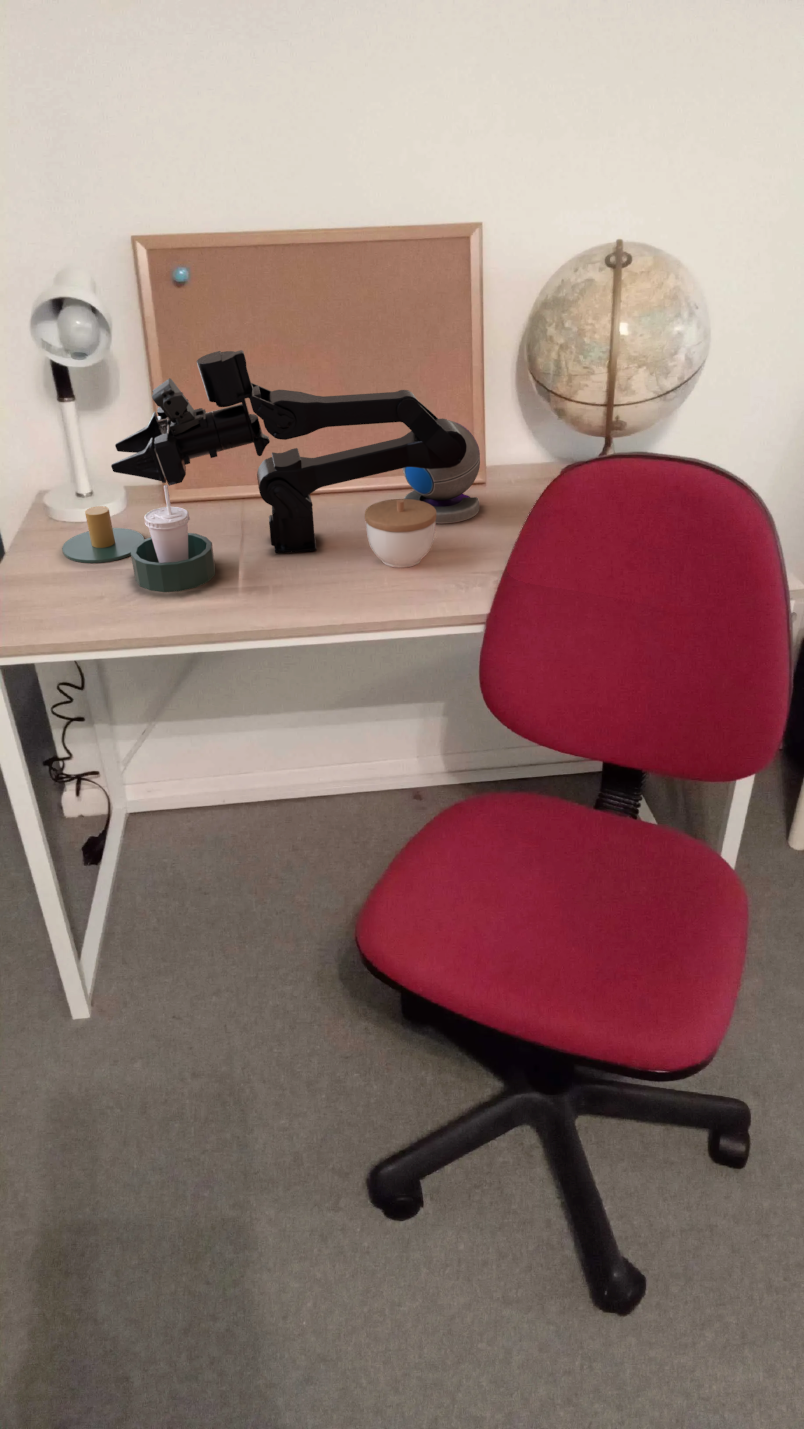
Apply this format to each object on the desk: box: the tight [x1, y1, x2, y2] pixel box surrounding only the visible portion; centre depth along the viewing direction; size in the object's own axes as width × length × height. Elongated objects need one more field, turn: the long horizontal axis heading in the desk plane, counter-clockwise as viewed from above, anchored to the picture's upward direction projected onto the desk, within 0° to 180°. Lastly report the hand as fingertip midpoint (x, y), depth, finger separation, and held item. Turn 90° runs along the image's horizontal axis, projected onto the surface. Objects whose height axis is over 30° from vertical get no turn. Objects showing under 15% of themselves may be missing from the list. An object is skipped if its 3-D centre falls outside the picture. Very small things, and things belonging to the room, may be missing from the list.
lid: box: [61, 505, 145, 564], centre depth 155 cm, size 13×13×7 cm
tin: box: [130, 532, 216, 593], centre depth 146 cm, size 12×12×5 cm
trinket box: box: [364, 498, 437, 569], centre depth 149 cm, size 11×11×9 cm
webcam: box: [401, 419, 481, 524], centre depth 164 cm, size 13×13×15 cm
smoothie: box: [143, 484, 191, 563], centre depth 144 cm, size 6×6×14 cm
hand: (114, 457), depth 145 cm, fingers open, 9 cm apart
